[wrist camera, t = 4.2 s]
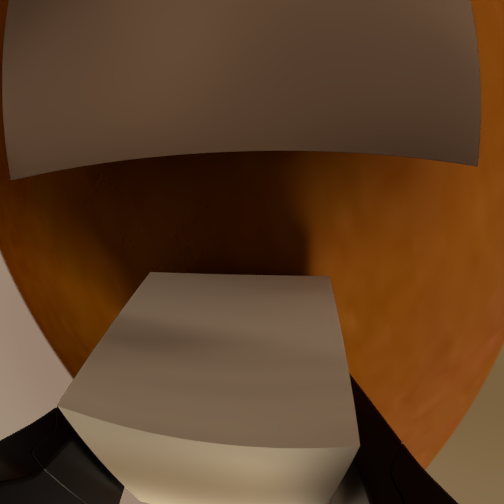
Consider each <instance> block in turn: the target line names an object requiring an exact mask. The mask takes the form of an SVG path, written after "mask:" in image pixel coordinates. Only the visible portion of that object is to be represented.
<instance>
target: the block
mask: <svg viewBox="0 0 504 504" xmlns="http://www.w3.org/2000/svg"><path fill="white" fill-rule="evenodd" d="M57 406H58V408H59V409H60V410H61V412H62V413H63V415H64V416H65V417H66V419H67V420H68V421H69V423H70V424H71V425H72V427H73V428H74V429H75V431H76V432H77V433H78V435H79V436H80V437H81V438H82V440H83V441H84V442H85V443H86V444H87V446H88V447H89V448H90V449H91V450H92V452H93V453H94V454H95V455H96V456H97V457H98V459H99V460H100V461H101V462H102V463H103V464H104V465H105V466H106V468H107V469H108V470H109V471H110V472H111V473H112V474H113V475H114V476H115V477H116V478H117V479H118V480H119V481H120V482H121V483H122V484H123V485H124V486H125V487H126V488H127V489H128V490H129V491H130V492H131V493H132V494H133V495H134V496H135V497H136V498H137V499H138V500H139V501H142V502H145V503H149V504H328V502H329V500H330V499H331V497H332V496H333V494H334V492H335V491H336V489H337V487H338V486H339V484H340V482H341V480H342V479H343V477H344V475H345V473H346V471H347V470H348V468H349V466H350V464H351V462H352V460H353V458H354V457H355V455H356V453H357V451H358V449H359V447H360V441H359V433H358V426H357V419H356V412H355V406H354V399H353V393H352V387H351V381H350V375H349V369H348V364H347V358H346V353H345V348H344V342H343V337H342V332H341V327H340V322H339V318H338V313H337V308H336V303H335V299H334V294H333V290H332V285H331V281H330V277H329V276H285V275H232V274H195V273H165V272H150V273H149V274H148V276H147V277H146V278H145V280H144V281H143V282H142V283H141V285H140V286H139V287H138V289H137V290H136V291H135V293H134V294H133V295H132V297H131V298H130V299H129V301H128V302H127V304H126V305H125V306H124V308H123V309H122V310H121V312H120V313H119V314H118V316H117V317H116V319H115V320H114V321H113V323H112V324H111V326H110V327H109V328H108V330H107V331H106V333H105V334H104V335H103V337H102V338H101V340H100V341H99V343H98V344H97V345H96V347H95V348H94V350H93V351H92V353H91V354H90V356H89V357H88V359H87V360H86V362H85V363H84V365H83V366H82V368H81V369H80V371H79V372H78V374H77V375H76V377H75V378H74V380H73V381H72V383H71V384H70V386H69V387H68V389H67V391H66V392H65V394H64V395H63V397H62V398H61V400H60V402H59V403H58V405H57Z"/></svg>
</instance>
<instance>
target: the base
mask: <svg viewBox="0 0 504 504" xmlns="http://www.w3.org/2000/svg"><path fill="white" fill-rule="evenodd" d="M2 104H3V122H4V134H5V143H6V152H7V159H8V166H9V173H10V179H11V180H15V179H19V178H24V177H28V176H33V175H38V174H43V173H48V172H53V171H58V170H64V169H70V168H75V167H81V166H88V165H94V164H101V163H108V162H115V161H123V160H131V159H140V158H149V157H160V156H171V155H183V154H197V153H214V152H237V151H326V152H349V153H365V154H379V155H391V156H402V157H412V158H421V159H429V160H437V161H445V162H452V163H458V164H465V165H471V166H477V167H478V157H479V144H480V122H481V88H480V68H479V55H478V45H477V36H476V29H475V22H474V16H473V10H472V5H471V0H9V3H8V9H7V16H6V24H5V33H4V44H3V61H2Z"/></svg>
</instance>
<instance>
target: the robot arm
mask: <svg viewBox="0 0 504 504" xmlns="http://www.w3.org/2000/svg"><path fill="white" fill-rule="evenodd" d="M349 375H350V373H349ZM350 381H351V387H352V393H353V399H354V406H355V412H356V419H357V426H358V433H359V441H360V447H359V449H358V451H357V453H356V455H355V457H354V458H353V460H352V462H351V464H350V466H349V468H348V470H347V471H346V473H345V475H344V477H343V479H342V480H341V482H340V484H339V486H338V487H337V489H336V491H335V492H334V494H333V496H332V497H331V499H330V500H329V503H330V504H458V503H457V502H456V501H455V500H454V499H453V498H452V497H451V496H450V495H449V494H448V493H447V492H446V491H445V490H444V489H443V488H442V487H441V486H440V485H439V484H438V483H437V482H436V481H435V480H434V479H433V478H432V477H431V476H430V475H429V474H428V473H427V472H426V471H425V470H424V469H423V468H422V467H421V466H420V464H419V463H418V462H417V461H416V459H415V458H414V457H413V456H412V454H411V453H410V452H409V451H408V449H407V448H406V447H405V445H404V444H402V442H401V440H400V439H399V438H398V436H397V435H396V434H395V432H394V431H393V430H392V428H391V427H390V426H389V424H388V423H387V422H386V420H385V419H384V418H383V417H382V415H381V414H380V413H379V411H378V410H377V409H376V407H375V406H374V405H373V403H372V402H371V401H370V399H369V398H368V397H367V396H366V394H365V393H364V392H363V390H362V389H361V388H360V386H359V385H358V384H357V382H356V381H355V380H354V378H353V377H352V376H351V375H350ZM124 487H125V486H124V485H123V484H122V483H121V482H120V481H119V480H118V479H117V478H116V477H115V476H114V475H113V474H112V473H111V472H110V471H109V470H108V469H107V468H106V466H105V465H104V464H103V463H102V462H101V461H100V460H99V459H98V457H97V456H96V455H95V454H94V453H93V452H92V450H91V449H90V448H89V447H88V446H87V444H86V443H85V442H84V441H83V440H82V438H81V437H80V436H79V435H78V433H77V432H76V431H75V429H74V428H73V427H72V425H71V424H70V423H69V421H68V420H67V419H66V417H65V416H64V415H63V413H62V412H61V410H60V409H59V408H58V406H57V408H54V409H53V410H51V411H50V412H48V413H47V414H46V415H44V416H42V417H41V418H39V419H38V420H36V421H35V422H33V423H32V424H30V425H28V426H26V427H25V428H23V429H21V430H19V431H17V432H15V433H14V434H12V435H10V436H8V437H6V438H4V439H2V440H1V441H0V504H119V503H120V499H121V496H122V493H123V490H124Z"/></svg>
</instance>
